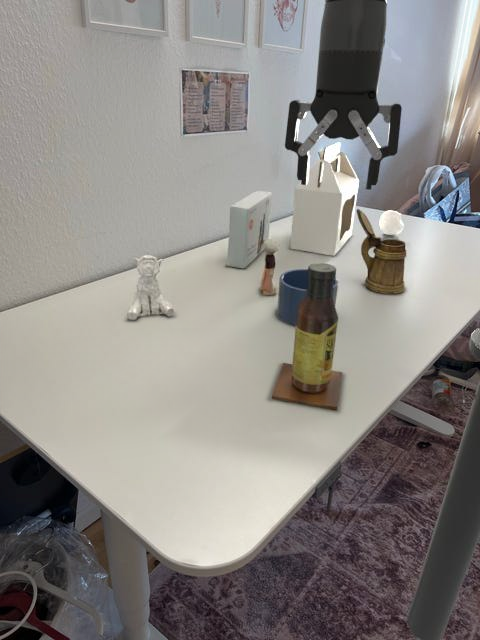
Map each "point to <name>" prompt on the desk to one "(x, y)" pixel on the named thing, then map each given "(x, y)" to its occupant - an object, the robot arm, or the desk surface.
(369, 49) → the robot arm
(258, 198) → the skincare box
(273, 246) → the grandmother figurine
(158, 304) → the sitting furry creature
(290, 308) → the blue cup
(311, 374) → the sauce bottle
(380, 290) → the wooden mug
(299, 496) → the desk surface
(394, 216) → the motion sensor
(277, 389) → the wooden coaster
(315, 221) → the gable box
